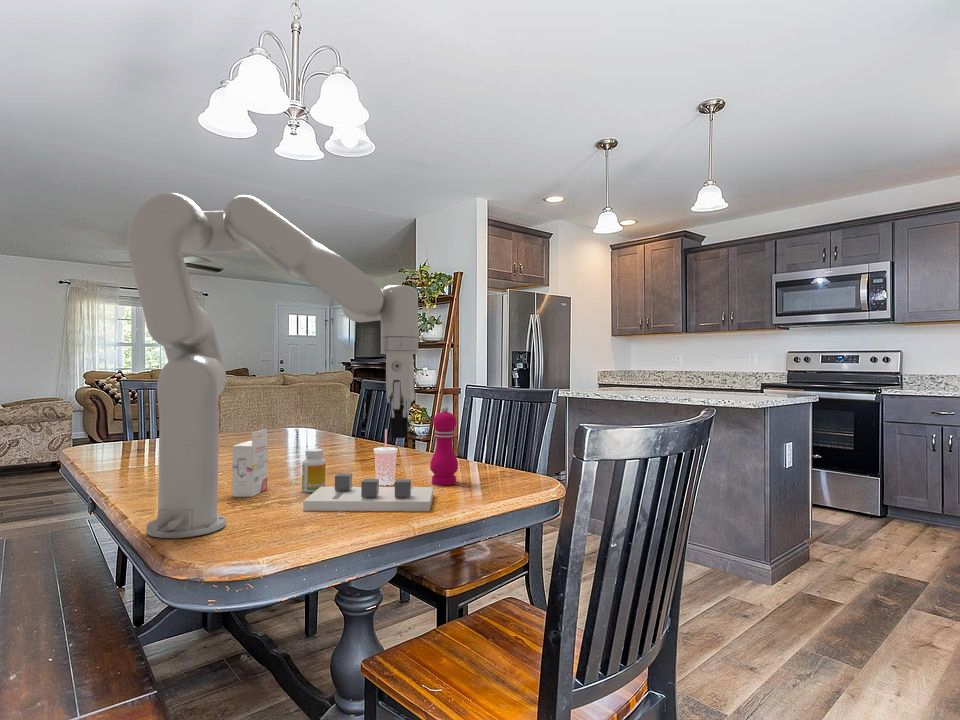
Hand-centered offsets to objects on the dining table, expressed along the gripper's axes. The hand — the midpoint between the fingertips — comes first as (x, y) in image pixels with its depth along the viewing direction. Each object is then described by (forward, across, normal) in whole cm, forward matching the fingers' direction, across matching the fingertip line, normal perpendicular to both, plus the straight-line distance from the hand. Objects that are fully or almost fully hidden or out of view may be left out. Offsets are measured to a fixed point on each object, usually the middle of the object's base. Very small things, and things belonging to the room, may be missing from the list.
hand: (399, 437), depth 111 cm
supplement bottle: (+16, +22, +23) cm, 35 cm away
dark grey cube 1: (+13, +13, +14) cm, 23 cm away
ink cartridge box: (+15, +19, +37) cm, 44 cm away
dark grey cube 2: (+13, +7, +7) cm, 16 cm away
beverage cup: (+16, +30, +7) cm, 34 cm away
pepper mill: (+16, +31, -8) cm, 36 cm away
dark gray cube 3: (+13, +7, 0) cm, 15 cm away
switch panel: (+16, +10, +7) cm, 20 cm away
